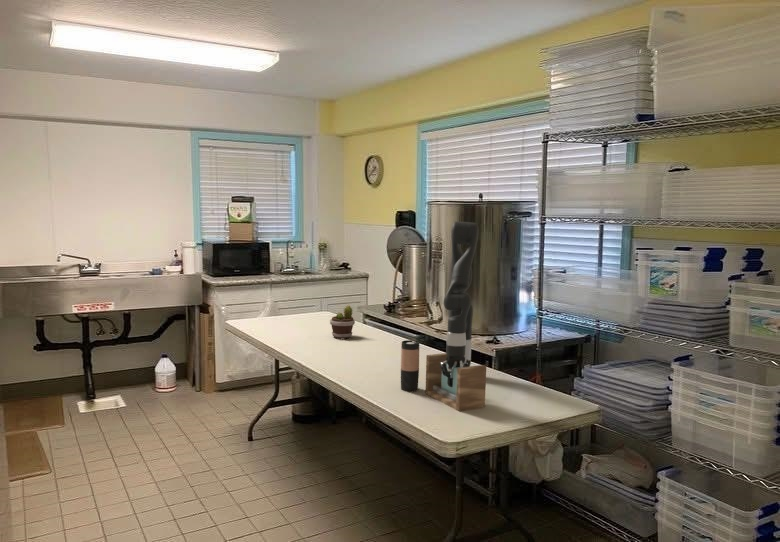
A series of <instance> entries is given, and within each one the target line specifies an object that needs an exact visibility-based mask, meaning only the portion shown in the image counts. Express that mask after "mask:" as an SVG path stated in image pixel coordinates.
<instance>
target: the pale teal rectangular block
mask: <svg viewBox="0 0 780 542" xmlns="http://www.w3.org/2000/svg"><path fill="white" fill-rule="evenodd" d="M447 368H448V364H447ZM457 368H462V367H456V368H454V372H453V377H452V378H453V387H449V386H448V384H447V379H448V378H447V377H446V376H444V375H443V373H442V379H441V388H442V389H444V390H446V391H448V392H450V393H452V394H454V395H456V394H457ZM450 369H451V368H450ZM451 370H452V369H451Z"/></svg>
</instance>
